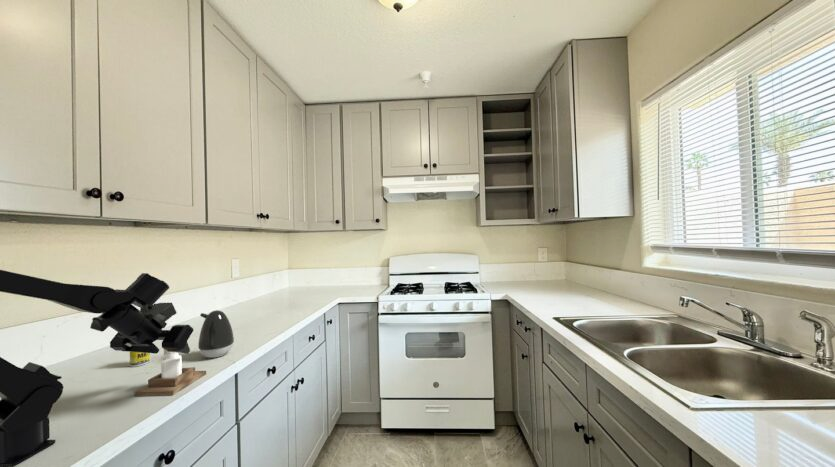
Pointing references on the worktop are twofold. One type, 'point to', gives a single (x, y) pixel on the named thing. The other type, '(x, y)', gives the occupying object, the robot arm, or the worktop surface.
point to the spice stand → (170, 383)
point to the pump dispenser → (215, 335)
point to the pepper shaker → (171, 365)
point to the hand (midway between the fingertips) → (173, 351)
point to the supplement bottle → (139, 359)
